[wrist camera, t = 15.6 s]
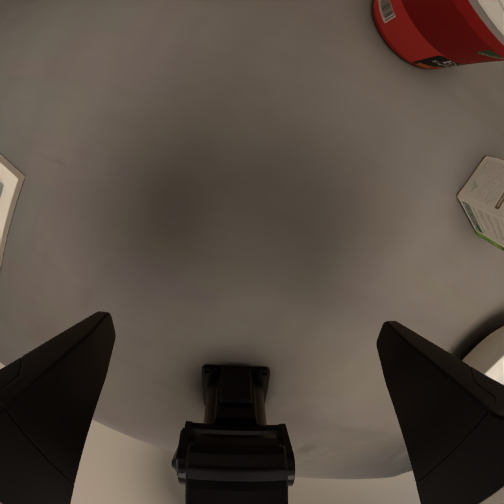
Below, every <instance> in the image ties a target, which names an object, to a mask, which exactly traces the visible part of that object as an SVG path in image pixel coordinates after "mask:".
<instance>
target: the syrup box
mask: <svg viewBox="0 0 504 504" xmlns="http://www.w3.org/2000/svg"><path fill="white" fill-rule="evenodd" d="M457 198H458V200H459V201H460V202H461V204H462V206H463V208H464V210H465V212H466V214H467V216H468V218H469V219H470V221H471V223H472V225H473V227H474V229H475V231H476V233H477V235H478V236H479V237H481V238H483V239H485V240H486V241H488V242H490V243H491V244H493V245H494V246H496V247H498V248H499V249H501V250H502V251H504V160H501V159H497V158H493V157H489V156H486V157H485V158H484V159H483V160H482V162H481V163H480V164H479V166H478V167H477V168H476V170H475V171H474V173H473V174H472V175H471V177H470V178H469V179H468V181H467V182H466V184H465V185H464V186H463V188H462V189H461V191H460V192H459V193H458V195H457Z"/></svg>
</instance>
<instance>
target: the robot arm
mask: <svg viewBox="0 0 504 504" xmlns="http://www.w3.org/2000/svg"><path fill="white" fill-rule="evenodd" d="M114 342H115V329H114V325H113V321H112V317H111V315H110V313H108V312H101V311H99V312H96V313H95V314H93V315H91V316H89V317H88V318H86V319H84V320H83V321H81V322H79V323H77V324H76V325H74V326H72V327H71V328H69V329H67V330H65V331H64V332H62V333H60V334H59V335H57V336H55V337H54V338H52V339H50V340H49V341H47V342H45V343H44V344H42V345H40V346H39V347H37V348H35V349H34V350H32V351H30V352H29V353H27V354H25V355H24V356H22V358H19V359H17V360H16V361H14V362H12V363H11V364H9V365H7V366H5V367H4V368H2V369H0V504H70V502H71V498H72V493H73V488H74V483H75V479H76V475H77V471H78V467H79V462H80V459H81V455H82V451H83V448H84V444H85V441H86V437H87V434H88V431H89V427H90V424H91V421H92V417H93V414H94V411H95V408H96V405H97V402H98V399H99V396H100V393H101V390H102V387H103V384H104V381H105V378H106V375H107V371H108V366H109V362H110V358H111V354H112V350H113V346H114ZM377 349H378V353H379V357H380V361H381V365H382V370H383V374H384V378H385V382H386V385H387V388H388V391H389V394H390V397H391V400H392V403H393V406H394V409H395V412H396V415H397V418H398V421H399V424H400V428H401V431H402V434H403V437H404V441H405V444H406V448H407V451H408V455H409V458H410V462H411V465H412V469H413V473H414V477H415V481H416V485H417V490H418V493H419V497H420V502H421V504H504V385H503V384H501V383H499V382H497V381H495V380H494V379H492V378H490V377H488V376H486V375H485V374H483V373H481V372H480V371H478V370H476V369H475V368H473V367H471V366H469V365H468V364H466V363H465V362H463V361H461V360H460V359H458V358H457V357H455V356H453V355H452V354H450V353H448V352H447V351H445V350H443V349H442V348H440V347H438V346H437V345H435V344H433V343H432V342H430V341H428V340H427V339H425V338H423V337H422V336H420V335H418V334H417V333H415V332H413V331H412V330H410V329H408V328H407V327H405V326H403V325H402V324H400V323H398V322H397V321H386V322H384V324H383V326H382V328H381V331H380V334H379V336H378V339H377ZM206 370H208V371H206ZM263 372H265V373H263ZM269 376H270V371H269V369H268V368H265V367H226V366H203V367H202V381H203V394H204V405H205V417H204V423H192V422H191V421H186V424H185V428H183V430H181V433H180V440H179V445H178V448H177V450H176V453H175V455H174V457H173V460H172V467H173V468H174V469H175V470H176V471H177V475H178V480H179V483H180V484H184V485H186V504H288V486H292V485H293V483H294V479H295V460H294V454H293V450H292V446H291V443H290V439H289V436H288V432H287V429H286V425H285V424H279V425H266V415H265V400H266V394H267V388H268V382H269Z"/></svg>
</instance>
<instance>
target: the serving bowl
mask: <svg viewBox="0 0 504 504" xmlns="http://www.w3.org/2000/svg"><path fill="white" fill-rule="evenodd" d="M462 361H463V362H465V363H466V364H468V365H469V366H471V367H473V368H475V369H476V370H478V371H480V372H481V373H483V374H485V375H486V376H488V377H490V378H492V379H494V380H495V381H497V382H499V383H501V384H503V385H504V326H503V327H501V328H499V329H497V330H496V331H494V332H493V333H491V334H490V335H489V336H487V337H486V338H485V339H483V340H482V341H481V342H480V343H479V344H478V345H477V346H476V347H475V348H474V349H473V350H472V351H471V352H470V353H469V354H468V355H467V356H466V357H465V358H464V359H463V360H462Z"/></svg>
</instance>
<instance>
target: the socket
mask: <svg viewBox="0 0 504 504" xmlns="http://www.w3.org/2000/svg"><path fill="white" fill-rule="evenodd" d="M24 179H25V176H24V175H23V174H22V173H21V172H20V171H19V170H17V169H16V168H15V167H14V166H13V165H12V164H11V163H10V162H9V161H8V160H6V159H5V158H4V157H3V156H2V155H1V154H0V269H1V263H2V258H3V253H4V248H5V244H6V239H7V235H8V231H9V227H10V223H11V220H12V216H13V212H14V209H15V206H16V202H17V199H18V196H19V193H20V190H21V187H22V184H23V181H24Z"/></svg>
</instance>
